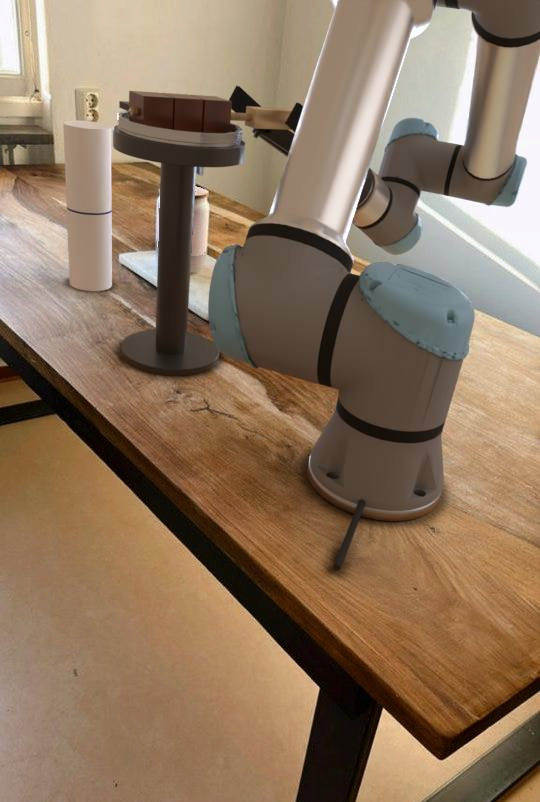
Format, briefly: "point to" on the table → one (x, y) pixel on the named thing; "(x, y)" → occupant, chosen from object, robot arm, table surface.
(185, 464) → the table surface
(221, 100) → the beef skewer
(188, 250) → the plant stand
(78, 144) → the cylindrical container
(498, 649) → the table surface
